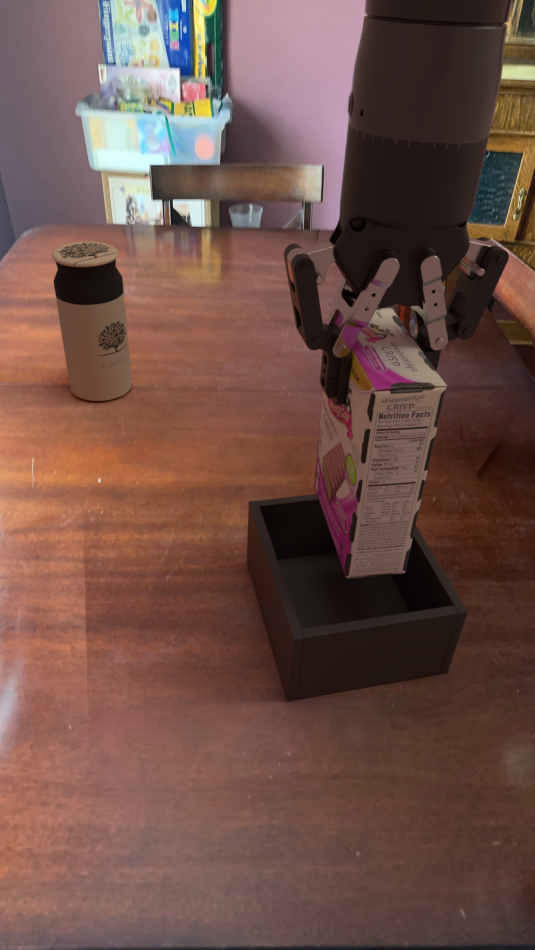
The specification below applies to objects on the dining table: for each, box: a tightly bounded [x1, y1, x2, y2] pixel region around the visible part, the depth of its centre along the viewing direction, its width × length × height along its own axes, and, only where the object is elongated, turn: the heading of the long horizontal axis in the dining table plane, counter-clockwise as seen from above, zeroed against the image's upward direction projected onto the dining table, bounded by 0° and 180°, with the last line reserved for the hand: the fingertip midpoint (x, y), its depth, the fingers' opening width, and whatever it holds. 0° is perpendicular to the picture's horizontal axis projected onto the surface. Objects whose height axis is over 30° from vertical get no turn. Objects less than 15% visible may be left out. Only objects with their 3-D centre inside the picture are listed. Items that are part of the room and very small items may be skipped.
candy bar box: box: [313, 307, 448, 578], centre depth 49 cm, size 11×5×16 cm, turn 9°
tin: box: [396, 275, 449, 337], centre depth 106 cm, size 15×3×8 cm, turn 147°
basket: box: [246, 493, 469, 702], centre depth 58 cm, size 14×16×8 cm
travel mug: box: [51, 240, 133, 402], centre depth 83 cm, size 8×8×18 cm
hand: (375, 394), depth 46 cm, fingers closed on candy bar box, 5 cm apart
